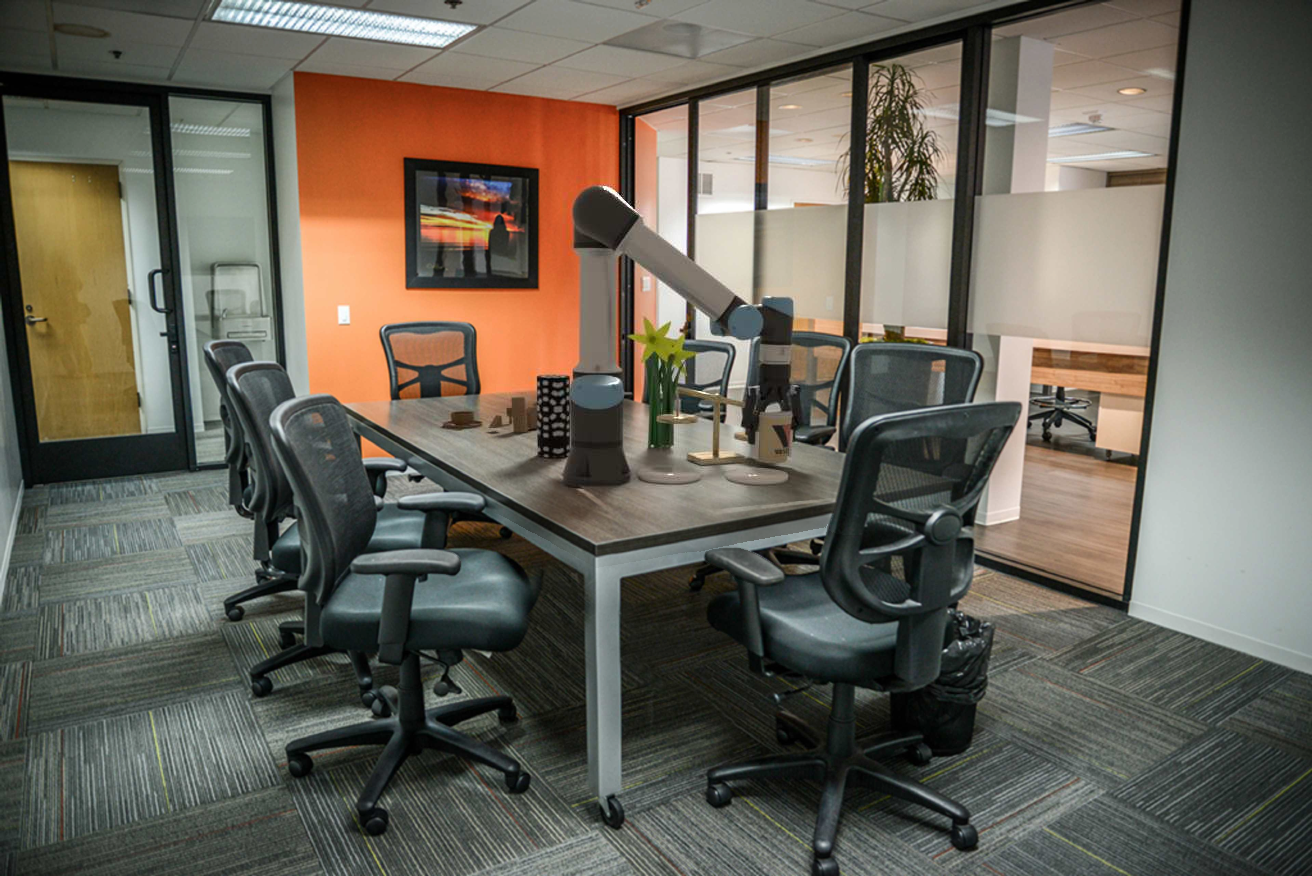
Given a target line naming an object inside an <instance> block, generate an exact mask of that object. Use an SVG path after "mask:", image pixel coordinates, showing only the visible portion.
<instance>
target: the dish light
mask: <svg viewBox="0 0 1312 876" xmlns="http://www.w3.org/2000/svg"><path fill="white" fill-rule="evenodd" d="M638 478H639V479H640V480H641V481H645V482H648V483H655V484H667V485H668V484H669V485H671V484H672V485H673V484H674V485H675V484H676V485H677V484H688V483H689V484H690V483H694V482H697V481H700V479H701V472H700V471H699V470H697V469H693V468H690V467H689V468H688V467H682V466H681V467H680V466H654V467H653V466H652V467H647V468H643V469H641V470H639V471H638Z"/></svg>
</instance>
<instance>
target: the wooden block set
mask: <svg viewBox="0 0 1312 876" xmlns="http://www.w3.org/2000/svg"><path fill="white" fill-rule="evenodd" d="M526 405H527V404H526V397H525V396H513V397H511V408H512V416H513V417H512V425H513V426H512V428H513V433H515V434H520V433H523V434H524V433H527V432H528V429H535V428H537V402H534V403H533V406H527V407H526ZM502 417H503V416H502V415H499V414H498V415H495V416H494V418H493V419H492V421H491V423H490V424H489V426H488V429H498V428H503V418H502Z"/></svg>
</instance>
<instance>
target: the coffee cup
mask: <svg viewBox="0 0 1312 876" xmlns="http://www.w3.org/2000/svg"><path fill="white" fill-rule="evenodd" d="M754 411H755V410H754ZM756 412H758V411H756ZM753 413H754V412H753ZM756 415H757V414H756ZM792 416H793V414H792V410H791V411H783V410H781V408H774V407H767V408H766V410H765V412H760V415H759V417H760V418H759V426H758V428H757V430H756V431H759V432H760V433H759V456H758V459H754V460H755V461H756V462H760V463H765V464H766V463H767V464H782V463H785V462H787V461H788V447H789V439H790V430H791V421H792Z"/></svg>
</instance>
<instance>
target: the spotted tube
mask: <svg viewBox="0 0 1312 876" xmlns="http://www.w3.org/2000/svg"><path fill="white" fill-rule="evenodd" d="M570 388H571V376H570V375H566V374H540V375H537V376H536V403H537V427H536V428H537V429H536V430H537V433H536V434H537V437H536V439H537V441H536V443H537V446H536V447H537V456H539V457H542V458H564V457H568V455H569V452H570V448H571V420H570V394H569V392H570Z"/></svg>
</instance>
